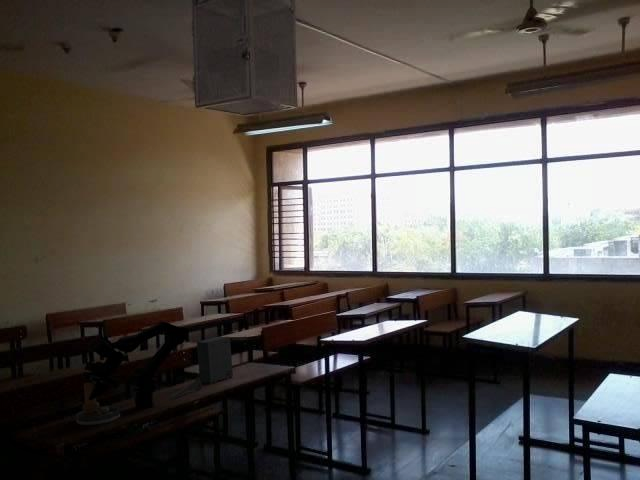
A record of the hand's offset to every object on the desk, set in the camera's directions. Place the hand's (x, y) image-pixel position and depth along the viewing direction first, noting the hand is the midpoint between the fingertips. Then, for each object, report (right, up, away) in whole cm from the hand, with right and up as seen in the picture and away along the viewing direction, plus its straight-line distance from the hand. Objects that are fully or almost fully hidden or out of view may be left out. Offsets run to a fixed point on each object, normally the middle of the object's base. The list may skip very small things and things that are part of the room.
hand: (86, 399), depth 234 cm
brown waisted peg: (+1, -7, +1) cm, 7 cm away
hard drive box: (+39, -7, +62) cm, 73 cm away
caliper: (+30, -8, +35) cm, 47 cm away
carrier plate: (+3, -9, +3) cm, 10 cm away
